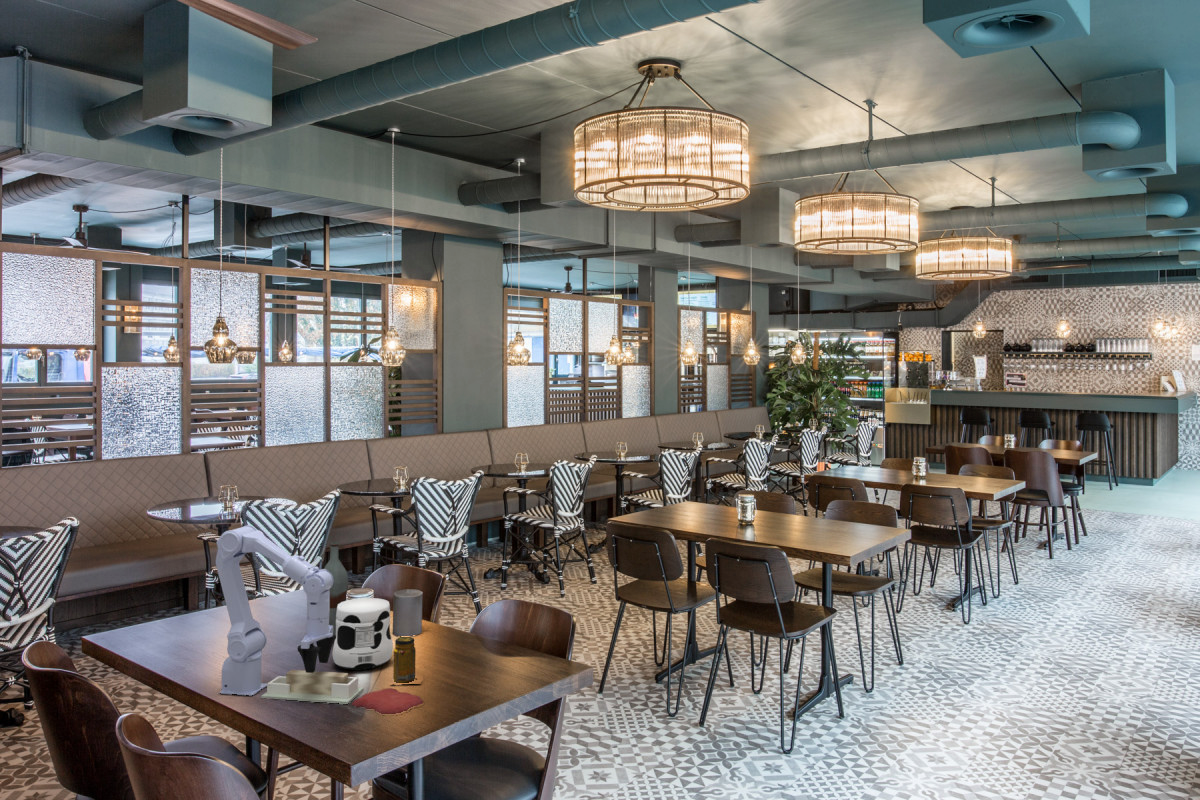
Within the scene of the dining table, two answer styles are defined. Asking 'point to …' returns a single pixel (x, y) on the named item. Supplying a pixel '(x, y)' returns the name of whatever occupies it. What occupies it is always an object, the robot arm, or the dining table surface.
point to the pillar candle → (407, 612)
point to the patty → (388, 701)
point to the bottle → (336, 584)
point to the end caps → (337, 690)
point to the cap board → (312, 697)
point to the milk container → (362, 634)
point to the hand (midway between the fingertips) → (316, 667)
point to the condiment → (404, 660)
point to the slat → (314, 681)
